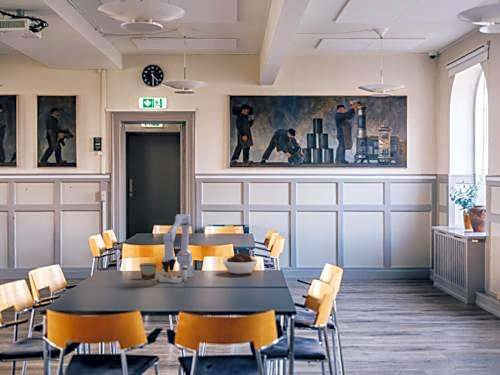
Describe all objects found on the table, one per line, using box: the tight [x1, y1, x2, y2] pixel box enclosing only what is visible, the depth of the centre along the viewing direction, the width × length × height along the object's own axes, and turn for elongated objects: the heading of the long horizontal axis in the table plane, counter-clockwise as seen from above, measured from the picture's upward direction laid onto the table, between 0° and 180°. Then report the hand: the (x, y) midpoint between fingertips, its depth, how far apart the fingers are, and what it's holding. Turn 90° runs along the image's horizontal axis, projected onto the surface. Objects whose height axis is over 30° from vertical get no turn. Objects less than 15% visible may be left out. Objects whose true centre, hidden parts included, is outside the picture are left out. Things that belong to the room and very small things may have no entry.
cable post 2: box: [182, 266, 188, 282], centre depth 398 cm, size 3×3×10 cm
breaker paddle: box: [167, 271, 174, 277], centre depth 394 cm, size 2×3×3 cm, turn 72°
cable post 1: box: [161, 264, 168, 277], centre depth 403 cm, size 3×3×10 cm
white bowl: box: [222, 252, 258, 275], centre depth 431 cm, size 25×25×15 cm
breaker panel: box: [158, 274, 184, 284], centre depth 395 cm, size 7×14×4 cm, turn 72°
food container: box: [139, 262, 158, 280], centre depth 409 cm, size 12×6×10 cm, turn 84°
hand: (168, 271), depth 392 cm, fingers open, 7 cm apart
